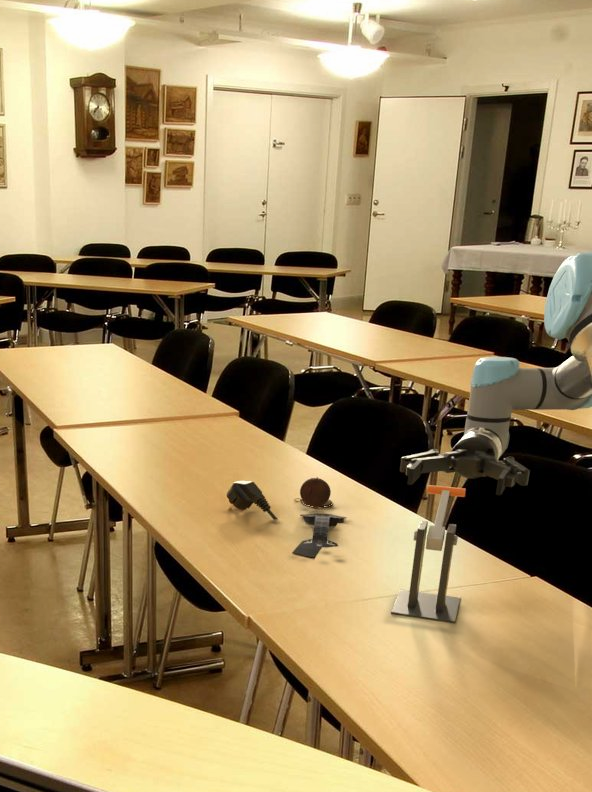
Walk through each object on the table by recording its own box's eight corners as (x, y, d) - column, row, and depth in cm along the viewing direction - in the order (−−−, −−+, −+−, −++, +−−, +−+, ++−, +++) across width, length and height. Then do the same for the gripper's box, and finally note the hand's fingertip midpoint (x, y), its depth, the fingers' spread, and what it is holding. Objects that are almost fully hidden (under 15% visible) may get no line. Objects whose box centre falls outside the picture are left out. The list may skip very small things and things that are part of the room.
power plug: (269, 519, 182) (232, 476, 186) (250, 543, 187) (215, 501, 192) (286, 513, 185) (250, 471, 189) (267, 536, 190) (233, 495, 195)
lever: (427, 492, 144) (428, 480, 143) (465, 496, 142) (466, 484, 140) (414, 548, 137) (414, 536, 135) (453, 552, 134) (454, 540, 133)
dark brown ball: (334, 502, 194) (337, 469, 191) (327, 513, 187) (330, 479, 185) (296, 499, 197) (299, 466, 194) (289, 510, 191) (291, 476, 188)
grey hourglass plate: (291, 558, 164) (292, 540, 162) (300, 515, 185) (301, 499, 184) (343, 562, 161) (345, 544, 160) (346, 517, 183) (348, 501, 182)
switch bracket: (399, 596, 146) (409, 514, 141) (459, 604, 142) (472, 520, 137) (390, 619, 138) (400, 532, 133) (453, 628, 134) (467, 540, 129)
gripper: (406, 427, 169) (378, 451, 152) (556, 440, 157) (543, 467, 140) (402, 466, 172) (373, 494, 155) (549, 482, 159) (535, 514, 143)
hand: (453, 481), depth 147 cm, fingers open, 13 cm apart
